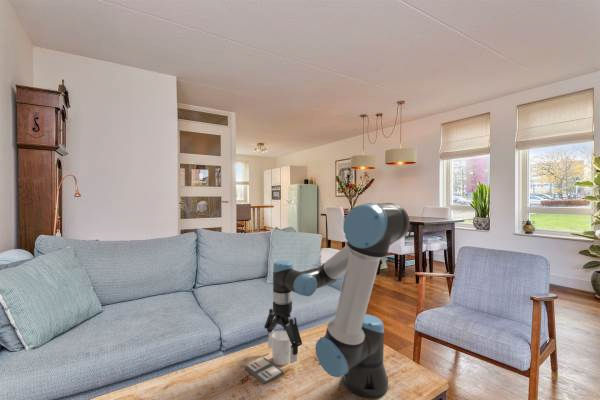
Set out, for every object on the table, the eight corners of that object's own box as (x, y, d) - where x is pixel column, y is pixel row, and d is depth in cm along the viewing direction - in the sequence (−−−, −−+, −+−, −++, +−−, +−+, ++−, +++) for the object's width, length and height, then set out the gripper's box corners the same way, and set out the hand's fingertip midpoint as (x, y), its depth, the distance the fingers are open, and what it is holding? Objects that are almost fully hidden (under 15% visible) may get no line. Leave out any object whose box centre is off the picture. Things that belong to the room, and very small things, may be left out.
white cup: (292, 355, 116) (292, 331, 116) (290, 367, 108) (290, 341, 108) (273, 354, 117) (273, 330, 116) (269, 365, 109) (269, 340, 108)
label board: (283, 373, 104) (283, 370, 104) (263, 384, 98) (263, 381, 98) (264, 359, 113) (264, 356, 113) (244, 368, 107) (244, 365, 107)
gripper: (311, 308, 105) (311, 364, 106) (270, 290, 124) (270, 338, 124) (296, 313, 100) (296, 373, 101) (256, 294, 118) (256, 345, 119)
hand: (282, 354), depth 113 cm, fingers open, 13 cm apart
